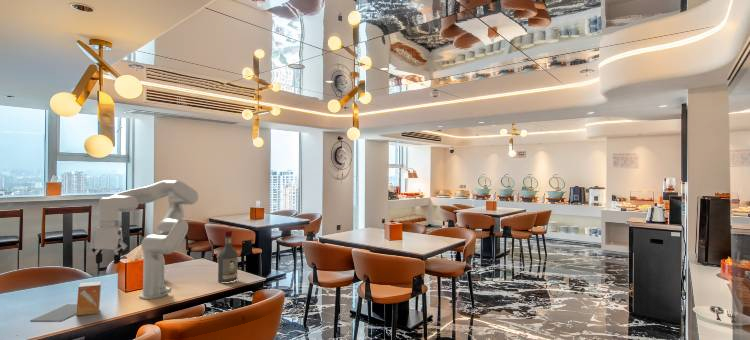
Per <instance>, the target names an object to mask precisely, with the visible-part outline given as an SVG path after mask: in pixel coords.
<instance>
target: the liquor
mask: <svg viewBox="0 0 750 340" xmlns="http://www.w3.org/2000/svg"><path fill="white" fill-rule="evenodd" d="M224 231H225V232H224V233H225V234H224V236H225V239H224V240H225V243H224V244H225V245H224V247H223V249H222V250H221V251H220V252H218V263H217V265H218V266H217V267H218V269H217V270H218V272H217V273H218V274H217V281H218V282H219V281H220V282H230V281H234V280H236V279H237V280H238V263H239V262H238V261H239V260H238V257H239V256H238V255H239V254H238V252H237V251H236V249H234V247H233V245H232V243H233V241H232V239H233V237H232V236H233V231H232V230H224ZM220 282H219V283H220Z"/></svg>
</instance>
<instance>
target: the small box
mask: <svg viewBox="0 0 750 340" xmlns="http://www.w3.org/2000/svg"><path fill="white" fill-rule="evenodd" d="M101 287H102V281H101V280H100V281H89V282H80V283H79V286H78V290H77V303H76V304H77V313H76V317H77V316H87V315H93V314H95V315H96V314H99V310H100V303H101V289H102V288H101Z"/></svg>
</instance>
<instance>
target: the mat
mask: <svg viewBox="0 0 750 340" xmlns="http://www.w3.org/2000/svg"><path fill="white" fill-rule="evenodd" d="M76 313H77V303H73V304H71V303H70V304H69V303H66V304H65V305H62V306H60V307H57V308H55V309H54V310H53V309H52V310H51V311H49V312H47V313H44V314H42V315H40V316H37V317H35V318H33V319H30V322H52V321H60V322H61V321H62V322H63V320H64V321H65V319H66V320H68V319H70V318H72V317H74V316H75V314H76ZM73 315H74V316H73ZM71 316H72V317H71ZM69 317H70V318H69ZM67 318H68V319H67Z"/></svg>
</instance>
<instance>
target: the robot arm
mask: <svg viewBox="0 0 750 340" xmlns="http://www.w3.org/2000/svg"><path fill="white" fill-rule="evenodd" d="M165 197H167V201H168V210H167V212H166V214H164V216H163V217H162V218H161V220H160V221H159V223H158V224H157V226H156V229H155V230H156V233H157V234H155V233H154V234H148V235H146V236H145V237H144V238H142V241H141V251H142V256H143V257H142V258H143V265H142V266H143V269H142V270H143V271H142V272H143V274H142V276H143V277H142V292H141V293H139V298H140V299H144V300H151V299H159V298H162V297H165V296H166V295H167V294H168V293H171V292H172V287H167V285H166V284H165V263H166V262H165V257H164V255H170V254H173V253H174V252H175V251H176V250H177V249H178V248H179V246H180V244H181V243H182V242H183V240H184V239H185V237H186V235H187V234H188V231H189V223H188V222H187V221H186V220H184V219H183V218H184V217H185V211H184V207H183V205H184V206H186V205H187V206H188V205H189V206H190V205H195V204H196V203H197V202H198V200H199V194H198V192H197V190H195V189H194V188H193V187H191V186H190V185H188V184H186V183H185V182H184V181H180V180H177V179H176V180H175V179H172V180H171V179H164V180H161V181H157V182H155V183H153V184H150V185H147V186H141V187H138V188H133V189H128V190H125V191H120V192H118V193H115V194H113V195H110V196H107V197H106V196H104V197H101V198H100V199H99V200H98V201H99V202H98V203H99V204H98V226H97V229H96V233H95V239H94V241H93V242H92V243H91V244H89V248H90V249H91V251H92V252H93V254H94V255H95V264H101V263H103V250H112V251H113V253H114V255H113V264H114V265H116V264H119V263H120V262H121V254H123V252H125V250H126V249H127V247H128V244H126V243H125V242H124V241H123V240H124V239H123V231H122V230H123V229H122V227H121V226H120V225H122V221H120V212H125V213H127V212H128V213H130V212H133V211H135V210H137V208H138V207H139V205H140V204H141V205H142V204H149V203H153V202H156V201H157V200H160V199H163V198H165Z"/></svg>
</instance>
